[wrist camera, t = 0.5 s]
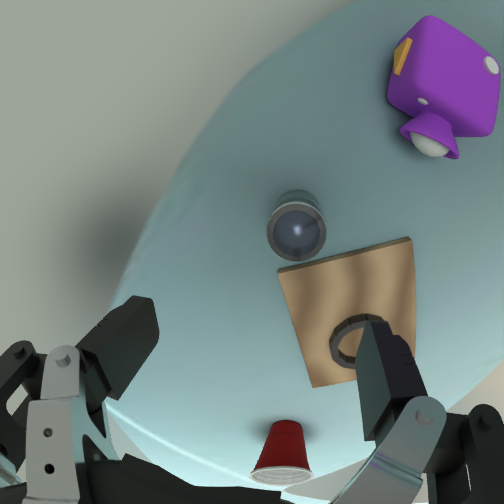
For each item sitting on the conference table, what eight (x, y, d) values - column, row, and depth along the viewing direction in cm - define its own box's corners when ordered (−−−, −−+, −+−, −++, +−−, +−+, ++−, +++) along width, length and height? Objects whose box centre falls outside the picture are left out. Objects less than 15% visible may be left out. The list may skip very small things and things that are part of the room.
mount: (408, 236, 27) (417, 245, 25) (412, 359, 33) (416, 372, 31) (278, 269, 32) (276, 280, 29) (312, 382, 38) (312, 396, 35)
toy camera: (375, 145, 25) (411, 144, 16) (380, 35, 20) (409, -3, 10) (455, 168, 23) (507, 181, 14) (459, 65, 18) (505, 47, 9)
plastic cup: (302, 443, 45) (297, 491, 34) (253, 432, 46) (241, 481, 35) (326, 419, 41) (325, 474, 30) (270, 407, 42) (260, 464, 30)
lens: (313, 184, 28) (318, 197, 20) (324, 227, 29) (333, 254, 22) (269, 196, 29) (257, 213, 21) (282, 238, 30) (275, 268, 23)
